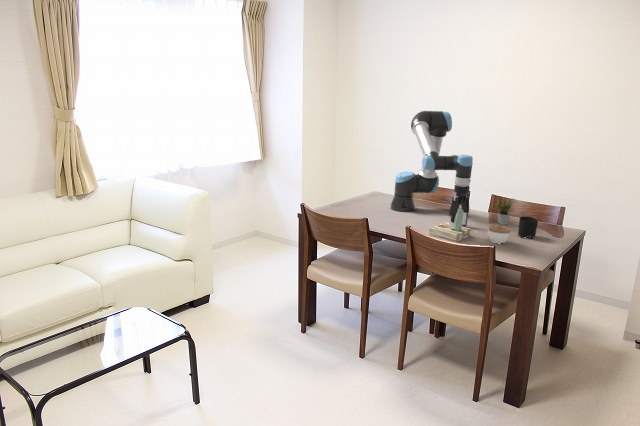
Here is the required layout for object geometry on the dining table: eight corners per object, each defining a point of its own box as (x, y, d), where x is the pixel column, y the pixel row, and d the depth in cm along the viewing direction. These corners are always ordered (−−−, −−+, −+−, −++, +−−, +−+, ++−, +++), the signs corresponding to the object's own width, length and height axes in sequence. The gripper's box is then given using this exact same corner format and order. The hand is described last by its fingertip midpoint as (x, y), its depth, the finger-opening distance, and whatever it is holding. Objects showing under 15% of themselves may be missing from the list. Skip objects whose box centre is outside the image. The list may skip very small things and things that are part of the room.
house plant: (518, 222, 305) (522, 195, 301) (516, 228, 293) (520, 200, 288) (493, 218, 311) (497, 192, 306) (490, 224, 299) (494, 197, 294)
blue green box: (466, 226, 294) (468, 208, 291) (466, 227, 291) (468, 209, 289) (450, 224, 297) (452, 206, 294) (450, 225, 294) (451, 207, 291)
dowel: (455, 233, 276) (458, 208, 272) (462, 235, 273) (464, 210, 269) (451, 235, 273) (454, 209, 269) (458, 237, 270) (461, 211, 267)
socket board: (444, 229, 287) (445, 222, 286) (470, 235, 276) (471, 228, 275) (429, 234, 276) (429, 227, 275) (455, 242, 265) (456, 234, 264)
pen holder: (514, 236, 278) (516, 218, 276) (521, 232, 285) (523, 215, 282) (531, 240, 272) (534, 222, 270) (538, 236, 279) (541, 219, 276)
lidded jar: (483, 239, 272) (486, 222, 269) (503, 239, 273) (505, 222, 270) (492, 245, 262) (494, 228, 259) (512, 245, 263) (514, 228, 260)
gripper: (457, 189, 255) (453, 231, 261) (479, 183, 271) (474, 223, 277) (444, 186, 260) (440, 228, 266) (466, 181, 276) (461, 220, 282)
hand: (457, 226), depth 272 cm, fingers open, 10 cm apart
